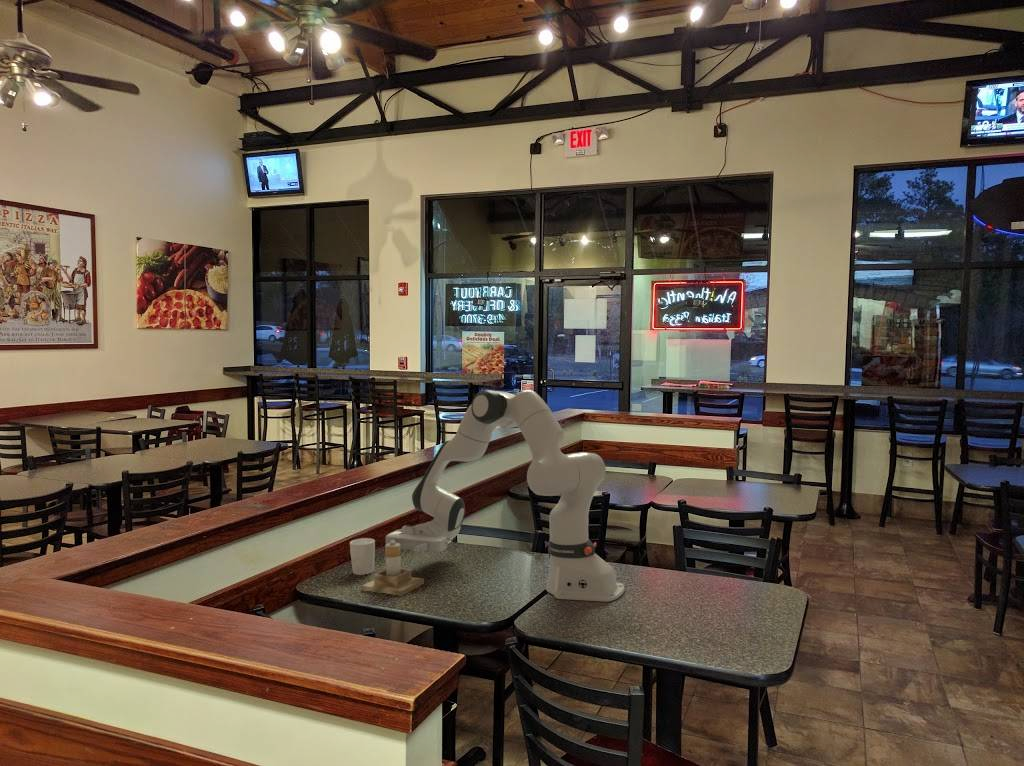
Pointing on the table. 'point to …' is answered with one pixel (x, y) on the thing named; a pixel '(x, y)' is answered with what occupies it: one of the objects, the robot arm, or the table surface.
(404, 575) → the charging dock
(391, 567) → the battery cell
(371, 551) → the white cup
